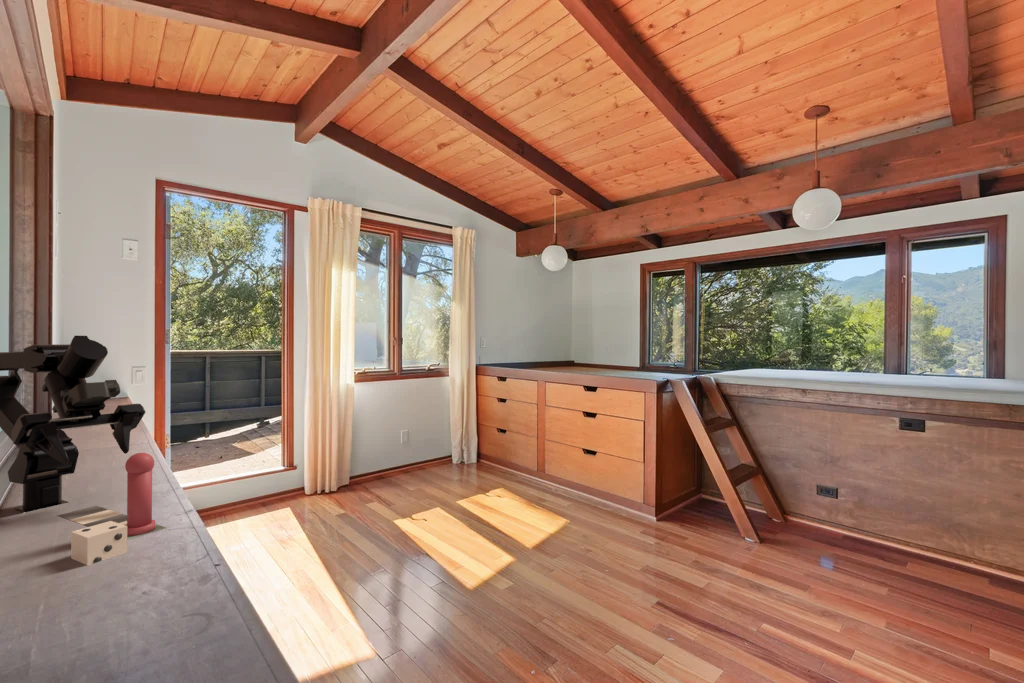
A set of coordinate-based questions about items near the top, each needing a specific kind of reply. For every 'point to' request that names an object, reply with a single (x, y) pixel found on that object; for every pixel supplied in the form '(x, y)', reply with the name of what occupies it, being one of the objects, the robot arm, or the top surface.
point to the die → (98, 542)
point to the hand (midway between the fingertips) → (98, 457)
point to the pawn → (139, 494)
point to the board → (100, 518)
